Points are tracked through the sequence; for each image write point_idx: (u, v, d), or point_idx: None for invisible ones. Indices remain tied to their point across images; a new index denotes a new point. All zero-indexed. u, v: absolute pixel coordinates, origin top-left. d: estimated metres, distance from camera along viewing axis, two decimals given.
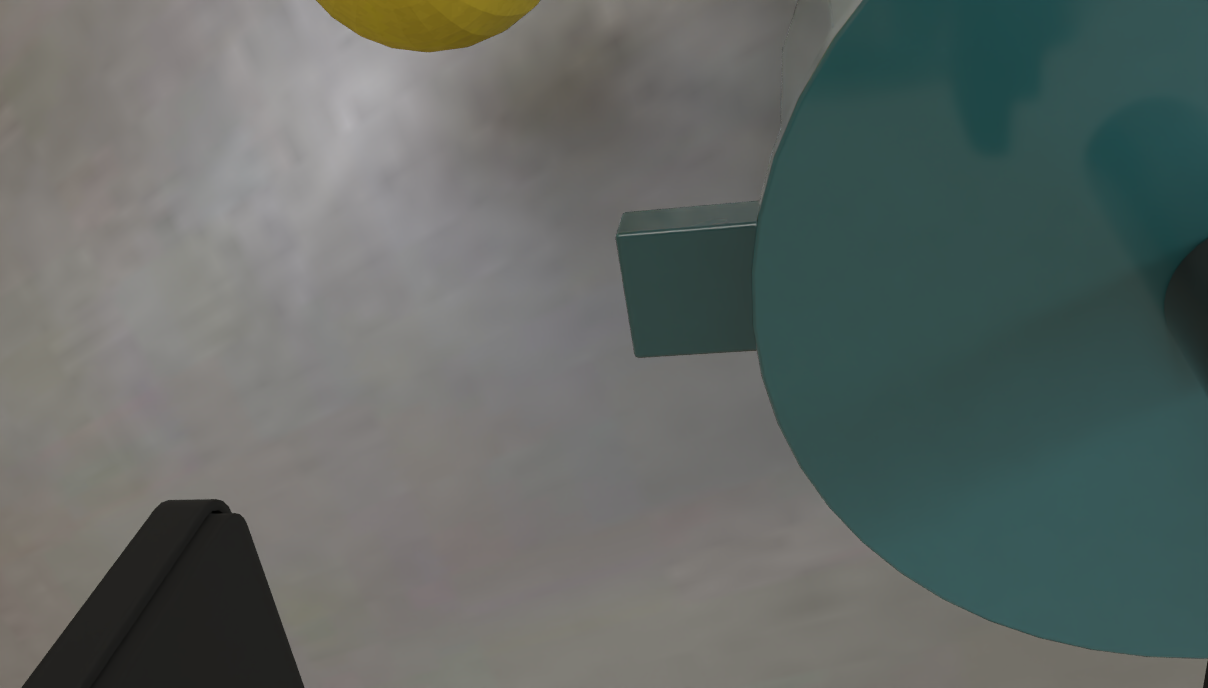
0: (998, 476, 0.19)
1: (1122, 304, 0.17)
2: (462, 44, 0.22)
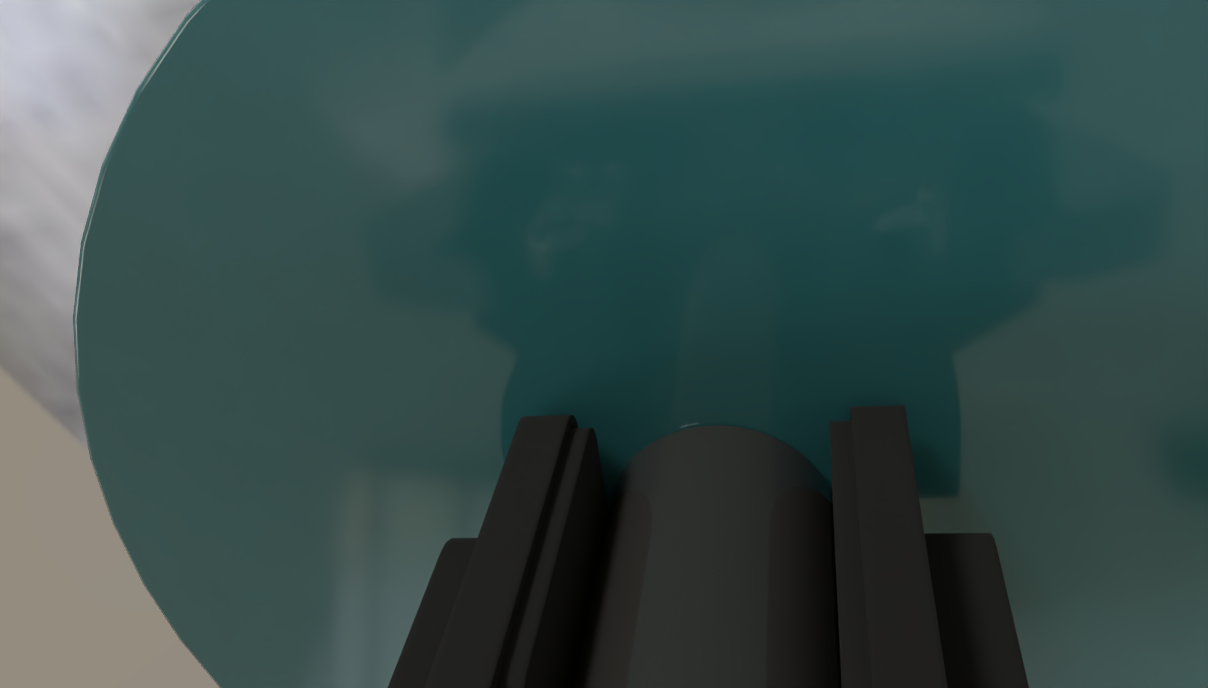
0: None
1: None
2: None
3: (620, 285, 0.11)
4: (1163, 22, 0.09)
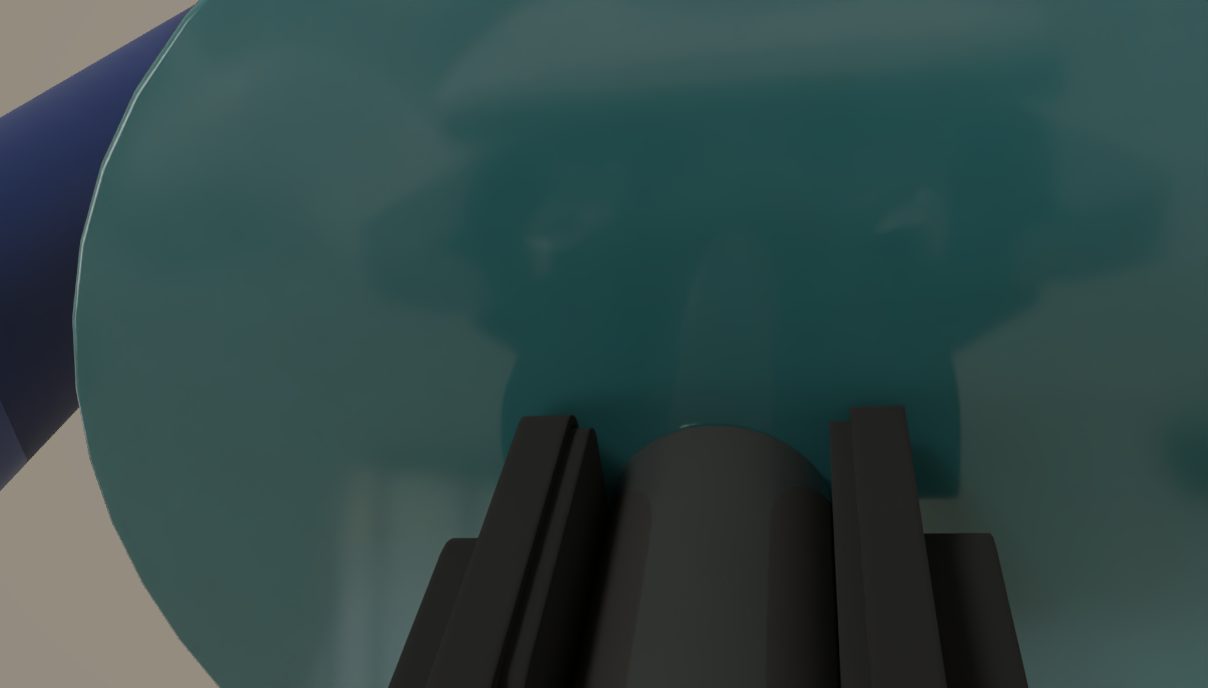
0: None
1: None
2: None
3: (620, 286, 0.11)
4: (1163, 22, 0.09)
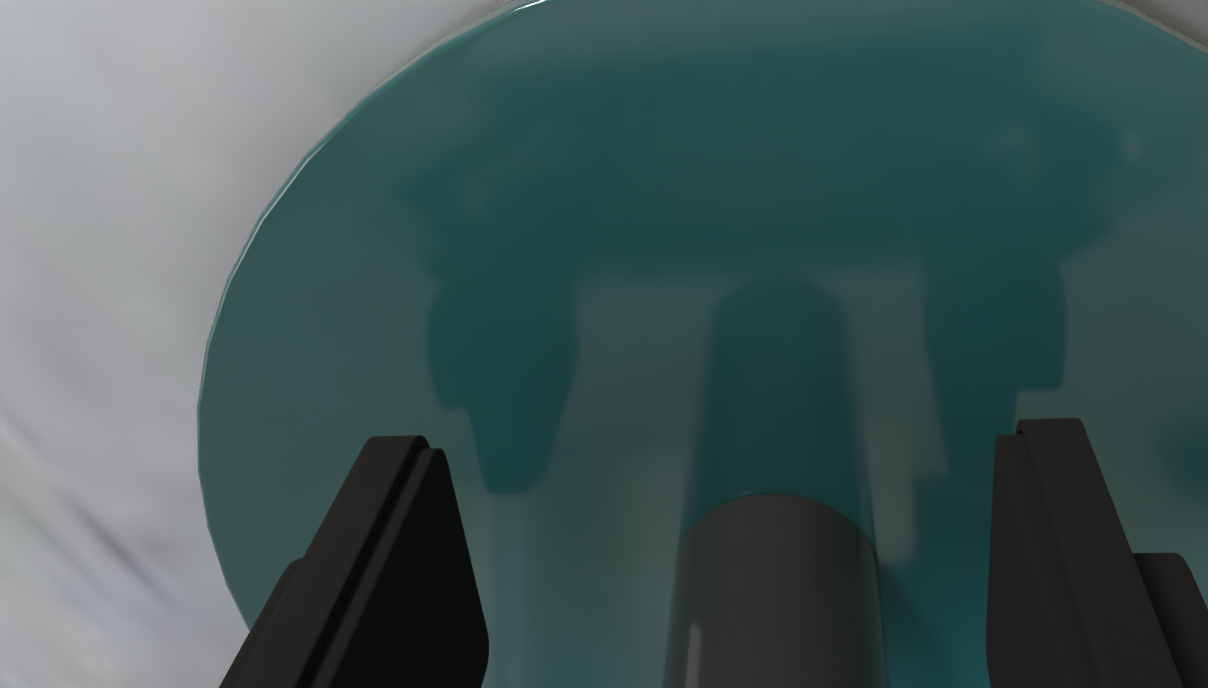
0: None
1: None
2: None
3: (685, 376, 0.13)
4: (1156, 153, 0.11)
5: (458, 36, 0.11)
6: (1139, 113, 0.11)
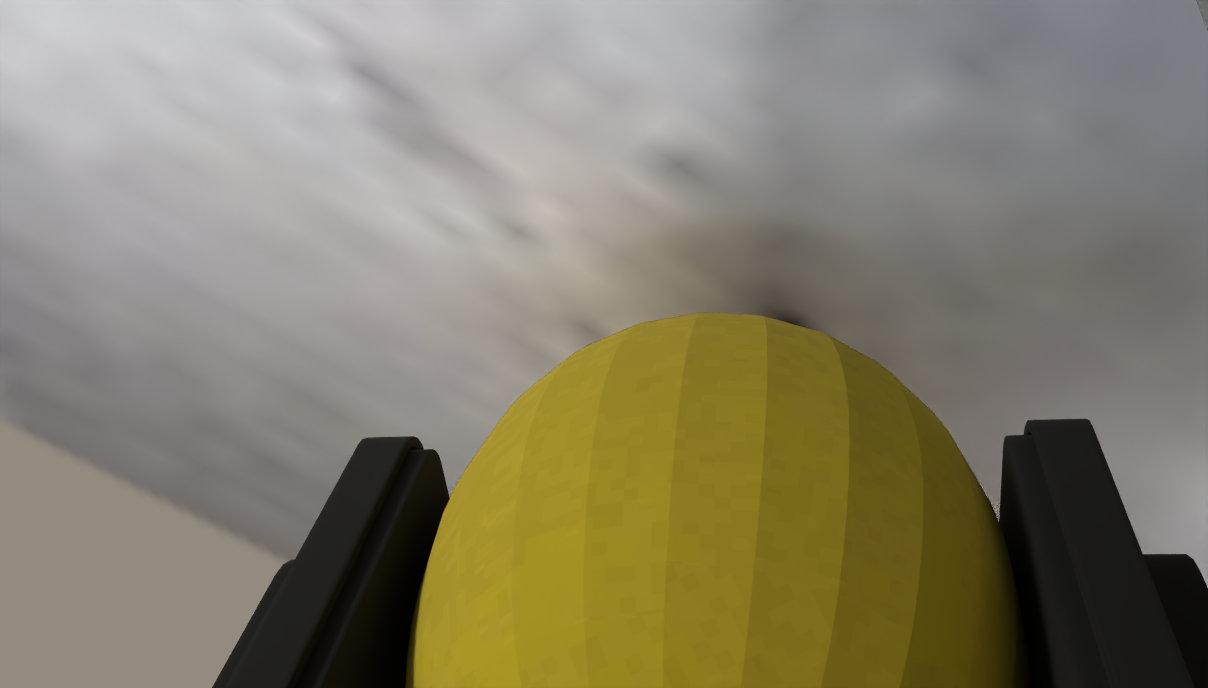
0: None
1: None
2: (955, 659, 0.08)
3: None
4: None
5: None
6: None
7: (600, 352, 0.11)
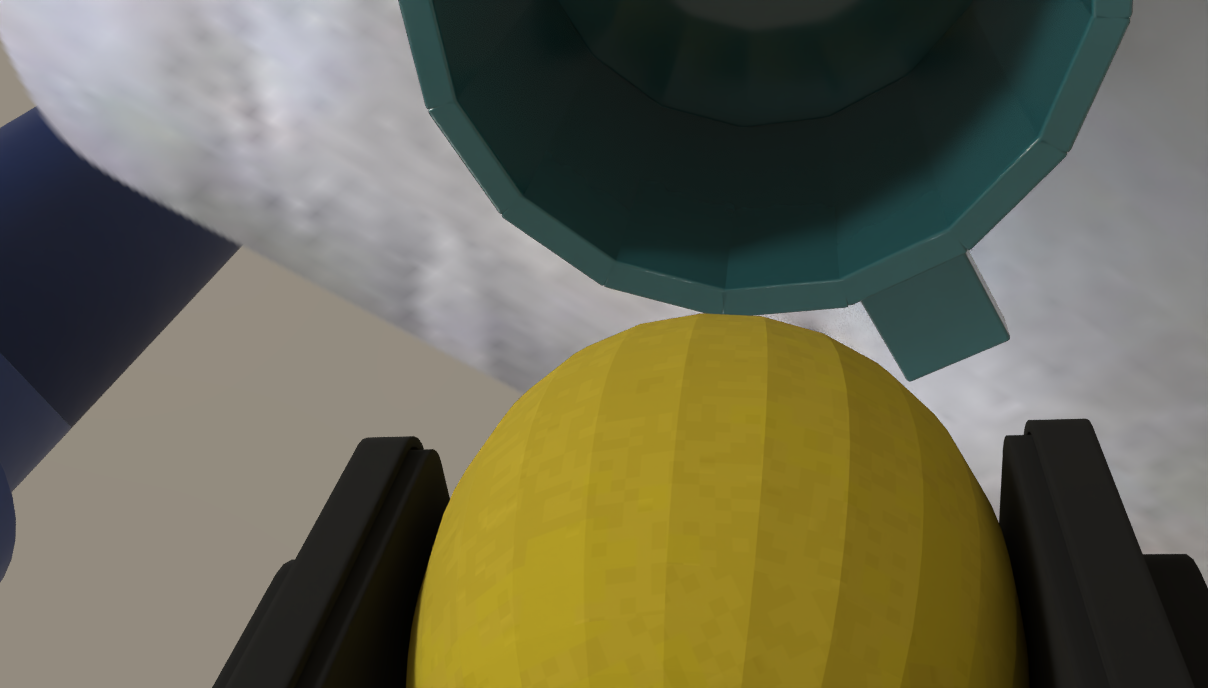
0: None
1: None
2: (955, 660, 0.08)
3: None
4: None
5: None
6: None
7: (600, 353, 0.11)
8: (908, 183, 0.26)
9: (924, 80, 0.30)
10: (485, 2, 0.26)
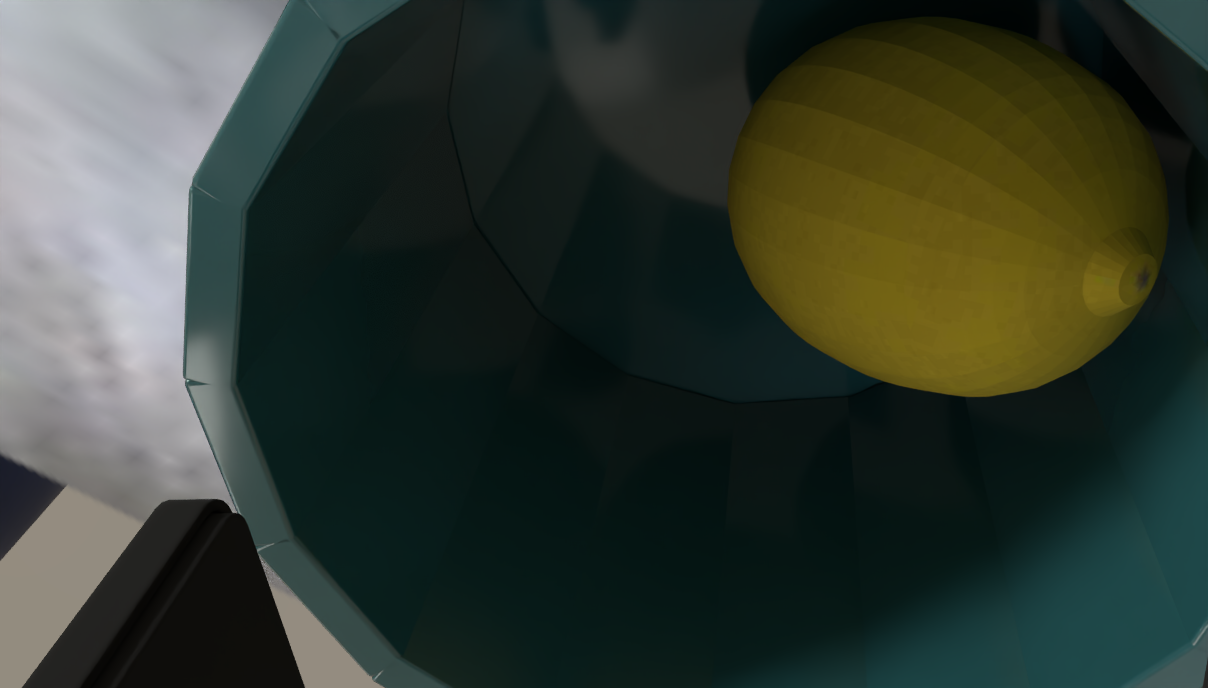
0: None
1: None
2: None
3: None
4: None
5: None
6: None
7: (830, 47, 0.17)
8: (970, 596, 0.18)
9: None
10: (359, 333, 0.18)
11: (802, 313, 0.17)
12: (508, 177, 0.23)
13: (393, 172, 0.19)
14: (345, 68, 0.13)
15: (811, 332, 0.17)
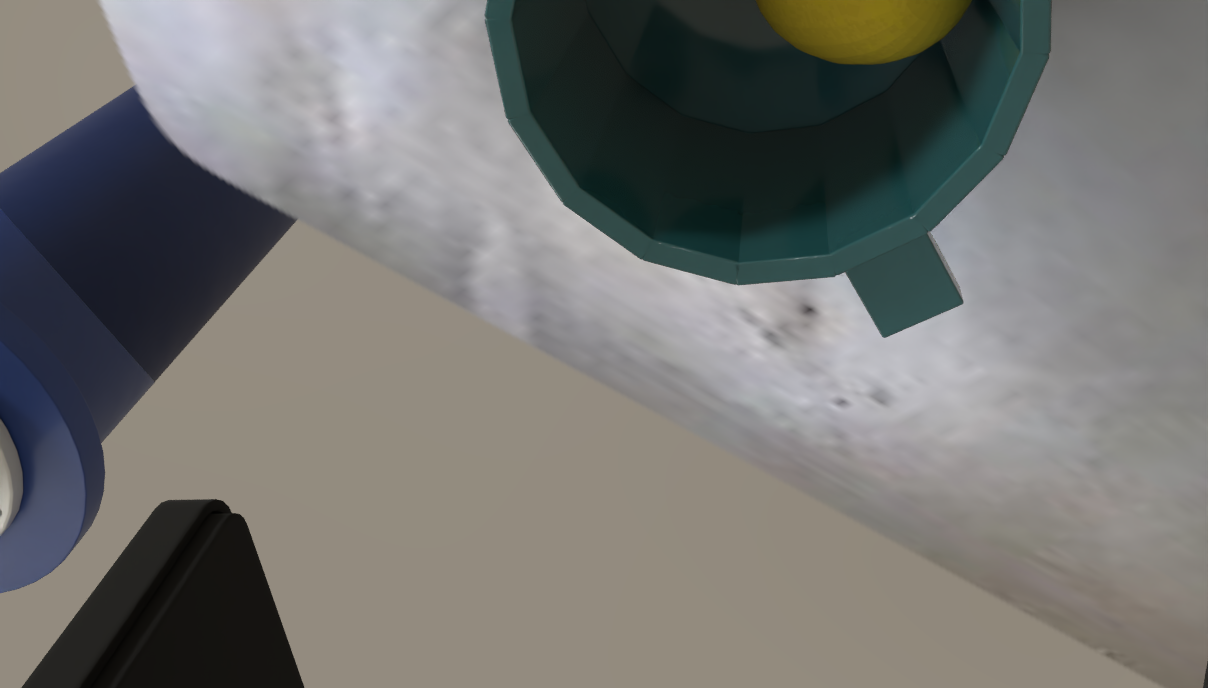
0: None
1: None
2: None
3: None
4: None
5: None
6: None
7: None
8: (884, 179, 0.33)
9: (899, 96, 0.37)
10: (547, 33, 0.32)
11: (790, 15, 0.32)
12: None
13: None
14: None
15: (795, 28, 0.32)
